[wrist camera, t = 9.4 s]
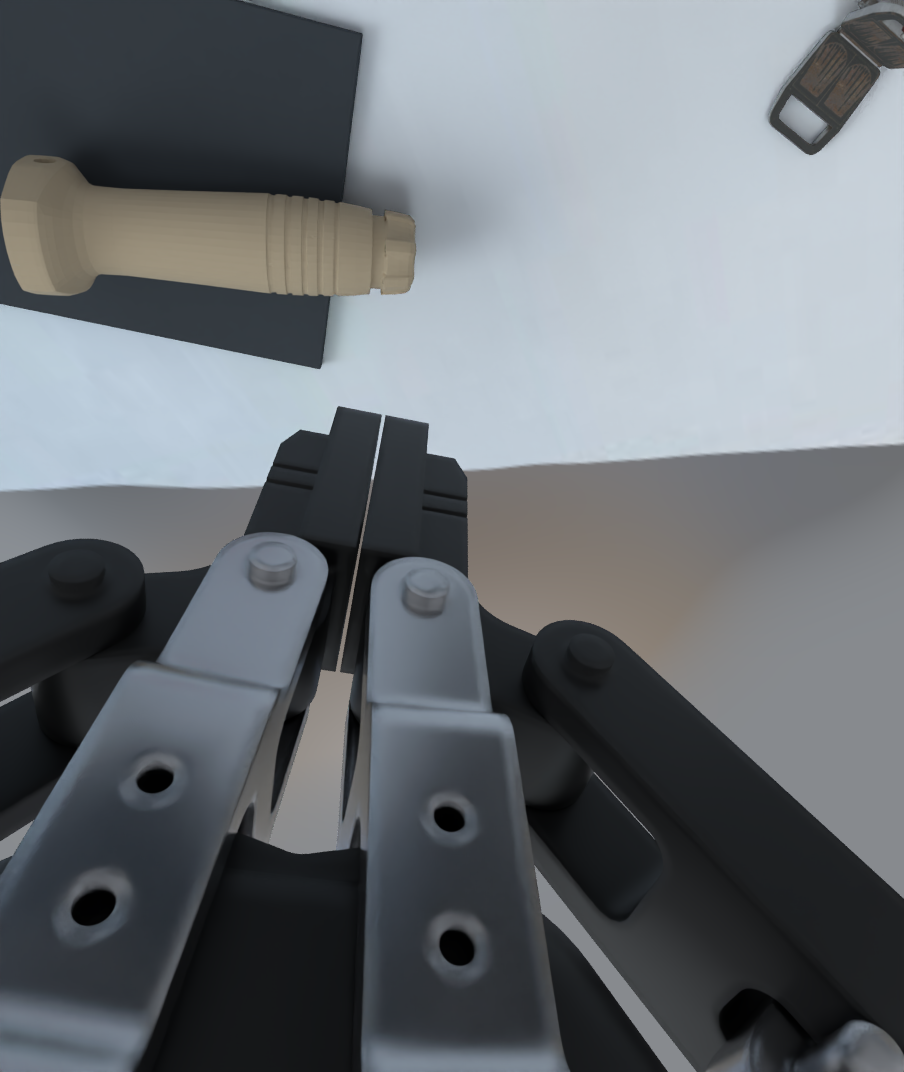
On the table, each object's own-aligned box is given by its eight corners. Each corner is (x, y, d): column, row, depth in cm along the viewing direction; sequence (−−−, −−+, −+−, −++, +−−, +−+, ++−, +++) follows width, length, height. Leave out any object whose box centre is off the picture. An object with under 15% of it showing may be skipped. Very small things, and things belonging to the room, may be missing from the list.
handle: (414, 339, 30) (22, 315, 28) (404, 286, 35) (72, 262, 33) (424, 216, 27) (-12, 177, 25) (411, 177, 32) (48, 142, 30)
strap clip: (934, -121, 26) (1009, -141, 22) (989, -64, 26) (1068, -74, 23) (758, 117, 30) (798, 131, 26) (810, 159, 31) (855, 178, 27)
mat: (362, 33, 28) (361, 34, 28) (321, 365, 36) (320, 369, 36) (-200, -118, 26) (-212, -120, 25) (-108, 276, 34) (-116, 280, 33)
